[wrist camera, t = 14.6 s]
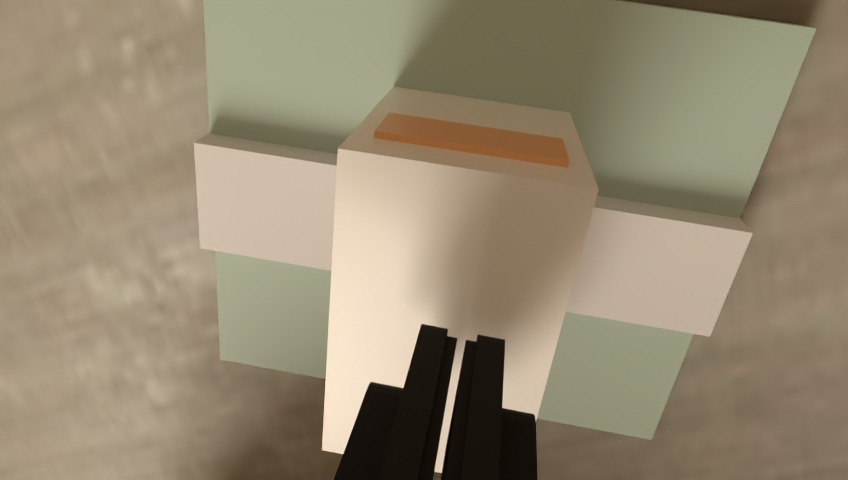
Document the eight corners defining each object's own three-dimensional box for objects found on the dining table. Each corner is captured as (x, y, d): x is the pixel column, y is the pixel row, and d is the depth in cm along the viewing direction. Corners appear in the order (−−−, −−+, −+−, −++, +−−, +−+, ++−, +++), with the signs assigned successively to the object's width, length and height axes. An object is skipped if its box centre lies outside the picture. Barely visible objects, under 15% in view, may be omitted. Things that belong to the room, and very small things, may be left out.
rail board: (801, 25, 15) (836, 32, 14) (646, 423, 22) (657, 461, 20) (214, -57, 16) (182, -58, 15) (229, 346, 23) (207, 376, 21)
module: (570, 107, 16) (600, 181, 11) (516, 344, 20) (517, 488, 15) (393, 81, 17) (338, 140, 11) (371, 319, 20) (321, 450, 15)
